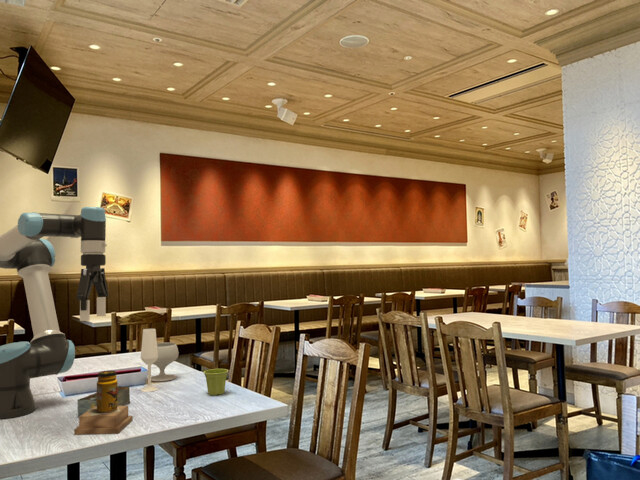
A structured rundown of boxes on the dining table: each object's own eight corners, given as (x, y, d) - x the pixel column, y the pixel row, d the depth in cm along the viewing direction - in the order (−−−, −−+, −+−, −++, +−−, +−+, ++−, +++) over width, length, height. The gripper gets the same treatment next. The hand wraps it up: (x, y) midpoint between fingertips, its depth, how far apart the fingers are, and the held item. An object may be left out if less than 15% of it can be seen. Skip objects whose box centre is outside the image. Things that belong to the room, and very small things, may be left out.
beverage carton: (75, 417, 176) (75, 397, 176) (111, 402, 195) (111, 384, 195) (96, 418, 174) (96, 398, 174) (131, 403, 193) (131, 385, 193)
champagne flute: (161, 387, 215) (160, 328, 216) (154, 391, 209) (153, 330, 210) (145, 387, 216) (144, 328, 217) (137, 391, 209) (137, 330, 210)
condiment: (121, 411, 164) (120, 372, 164) (91, 416, 159) (91, 376, 159) (115, 406, 170) (115, 368, 170) (87, 410, 165) (87, 372, 165)
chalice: (183, 375, 238) (183, 342, 238) (171, 382, 224) (171, 347, 224) (153, 375, 239) (153, 342, 240) (139, 382, 225) (139, 347, 226)
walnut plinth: (74, 434, 158) (74, 417, 158) (91, 421, 171) (91, 405, 171) (118, 433, 158) (118, 416, 158) (132, 420, 171) (132, 404, 171)
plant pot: (199, 395, 201) (198, 372, 201) (211, 390, 210) (211, 368, 210) (221, 397, 198) (221, 374, 199) (232, 391, 207) (232, 369, 208)
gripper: (89, 253, 163) (89, 322, 162) (118, 254, 188) (118, 314, 187) (64, 253, 163) (64, 323, 162) (96, 254, 188) (96, 314, 187)
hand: (93, 318), depth 174 cm, fingers open, 13 cm apart
